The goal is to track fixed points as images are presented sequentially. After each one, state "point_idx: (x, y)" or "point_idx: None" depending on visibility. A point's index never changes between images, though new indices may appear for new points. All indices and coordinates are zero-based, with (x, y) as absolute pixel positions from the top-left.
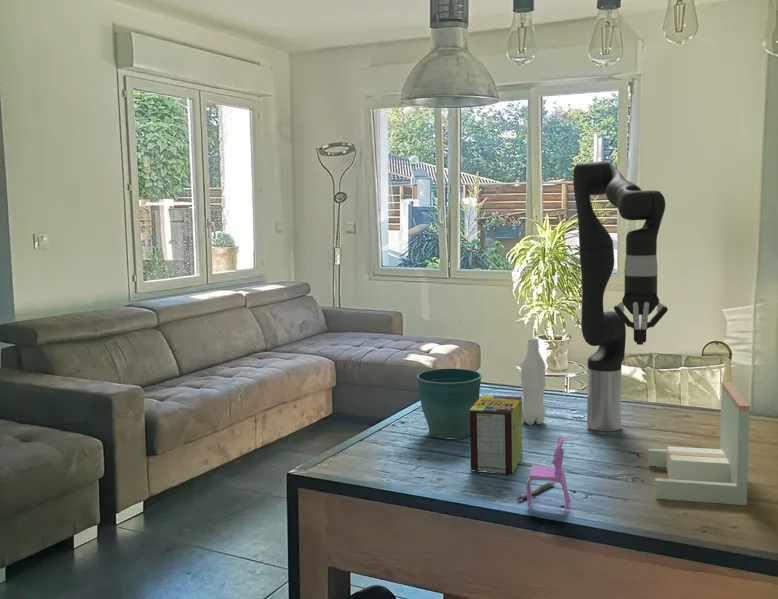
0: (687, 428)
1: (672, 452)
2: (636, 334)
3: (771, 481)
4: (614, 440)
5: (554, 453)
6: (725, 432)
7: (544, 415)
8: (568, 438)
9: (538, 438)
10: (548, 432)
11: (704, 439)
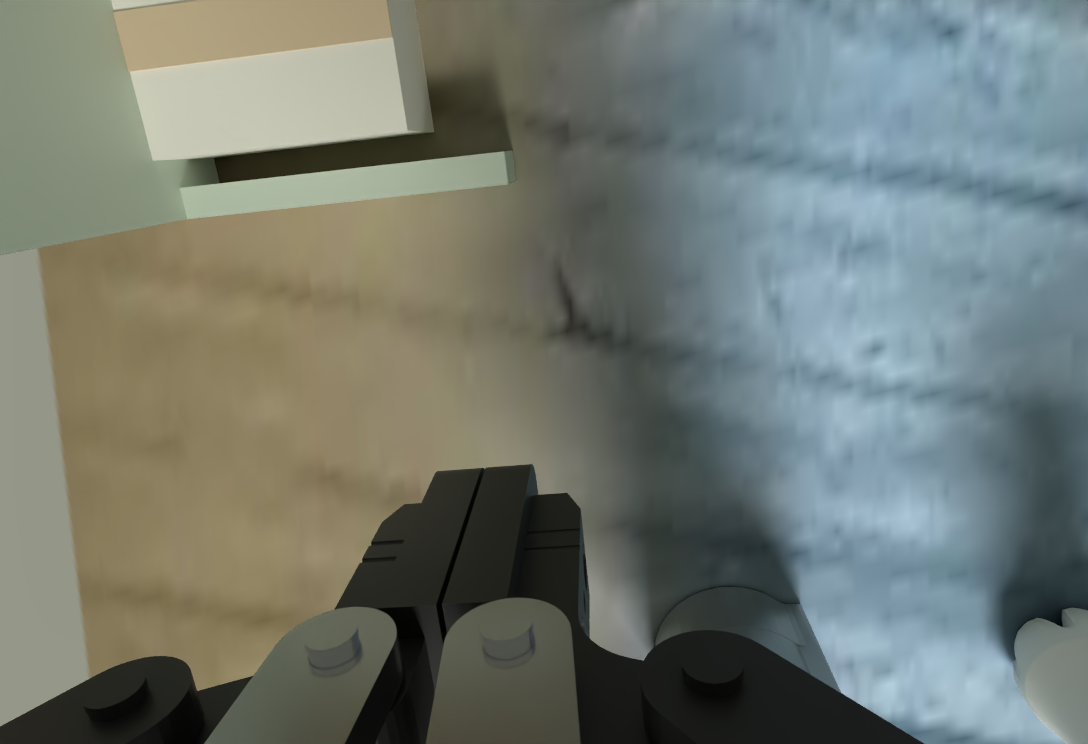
0: None
1: (371, 15)
2: (533, 570)
3: None
4: (676, 481)
5: None
6: (40, 50)
7: (1028, 659)
8: (887, 459)
9: (1035, 424)
10: (984, 523)
11: (316, 580)
